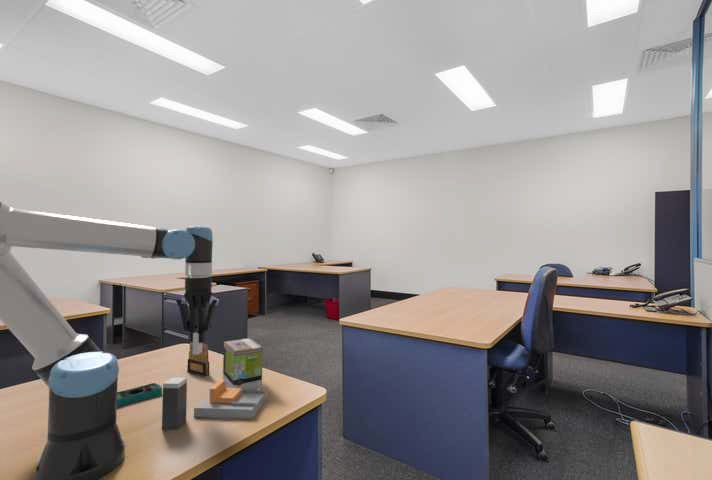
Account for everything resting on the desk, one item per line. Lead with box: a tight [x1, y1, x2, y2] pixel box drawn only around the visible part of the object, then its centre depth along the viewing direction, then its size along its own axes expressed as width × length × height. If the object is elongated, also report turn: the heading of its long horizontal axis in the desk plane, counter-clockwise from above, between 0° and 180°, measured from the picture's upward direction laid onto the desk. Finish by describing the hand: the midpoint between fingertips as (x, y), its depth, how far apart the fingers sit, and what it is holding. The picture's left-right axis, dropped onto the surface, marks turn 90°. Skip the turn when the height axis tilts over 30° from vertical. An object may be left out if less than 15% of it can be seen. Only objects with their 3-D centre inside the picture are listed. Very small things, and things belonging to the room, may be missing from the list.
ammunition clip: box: [186, 341, 210, 377], centre depth 127 cm, size 11×2×12 cm, turn 63°
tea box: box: [222, 337, 264, 390], centre depth 115 cm, size 15×10×15 cm, turn 35°
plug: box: [161, 376, 188, 430], centre depth 89 cm, size 4×4×12 cm
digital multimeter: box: [117, 382, 163, 408], centre depth 105 cm, size 7×15×3 cm, turn 136°
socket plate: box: [193, 389, 268, 420], centre depth 99 cm, size 13×17×3 cm
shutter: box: [209, 379, 242, 403], centre depth 100 cm, size 7×7×4 cm
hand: (197, 353), depth 101 cm, fingers closed
